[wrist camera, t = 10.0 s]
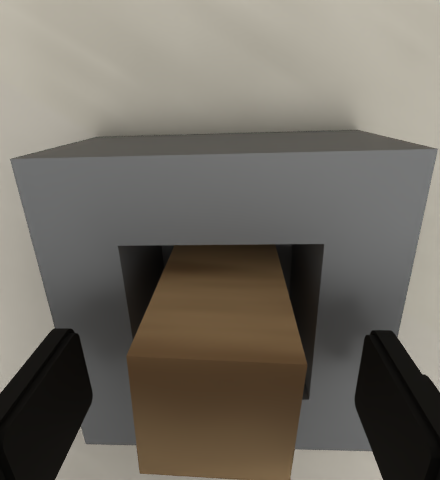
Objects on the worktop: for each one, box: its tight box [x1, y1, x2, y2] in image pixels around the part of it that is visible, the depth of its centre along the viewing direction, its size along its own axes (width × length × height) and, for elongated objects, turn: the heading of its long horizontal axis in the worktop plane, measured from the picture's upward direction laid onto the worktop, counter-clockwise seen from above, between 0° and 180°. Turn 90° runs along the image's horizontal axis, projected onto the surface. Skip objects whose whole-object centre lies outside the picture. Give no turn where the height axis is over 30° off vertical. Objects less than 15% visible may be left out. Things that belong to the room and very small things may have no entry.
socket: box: [10, 130, 438, 451], centre depth 16 cm, size 13×13×7 cm
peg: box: [126, 244, 307, 480], centre depth 14 cm, size 4×4×10 cm
